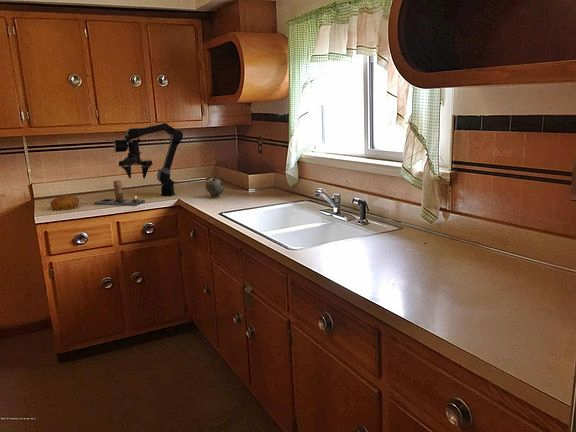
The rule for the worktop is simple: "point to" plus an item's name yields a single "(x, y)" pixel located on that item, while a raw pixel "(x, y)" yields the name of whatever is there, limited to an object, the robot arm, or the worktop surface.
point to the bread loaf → (65, 202)
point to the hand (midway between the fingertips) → (137, 178)
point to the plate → (125, 202)
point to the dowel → (118, 191)
